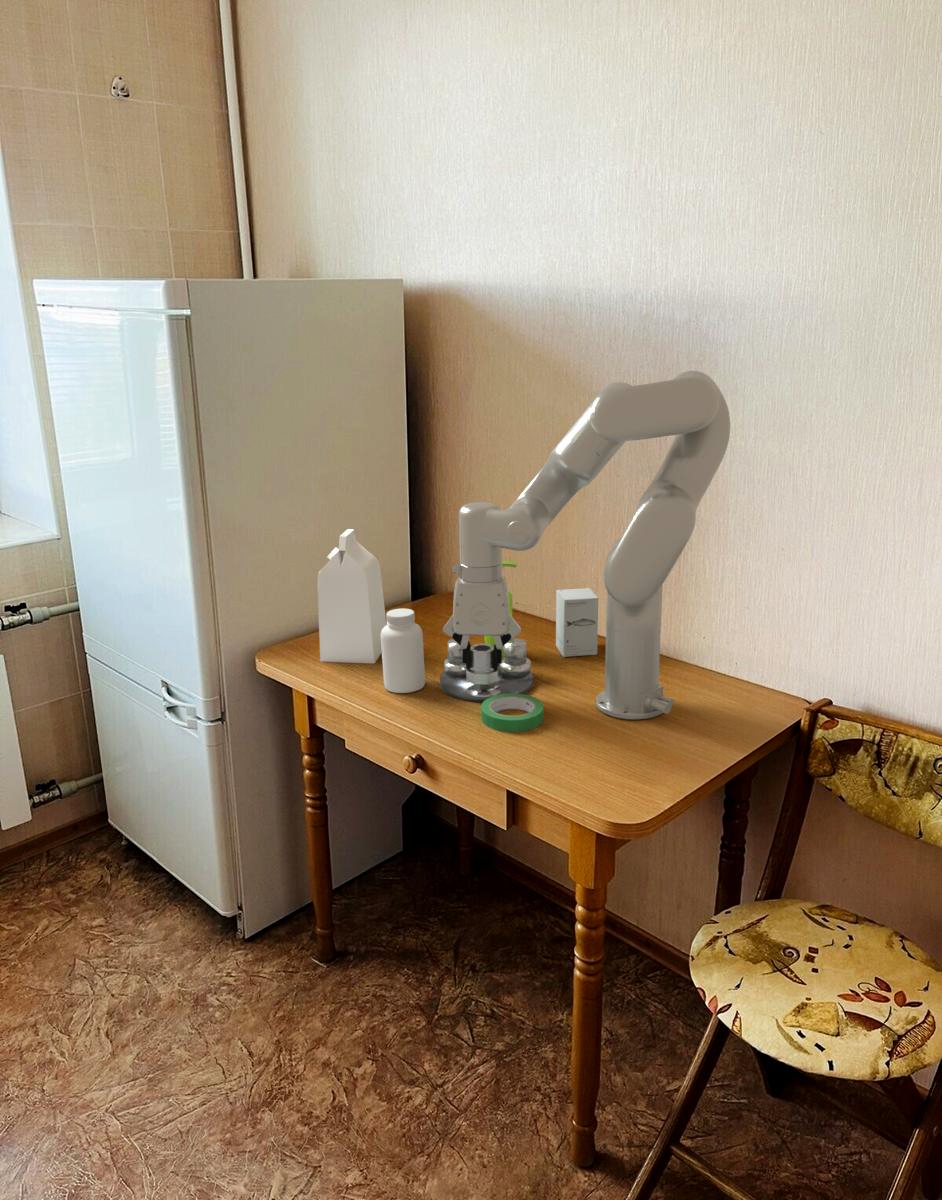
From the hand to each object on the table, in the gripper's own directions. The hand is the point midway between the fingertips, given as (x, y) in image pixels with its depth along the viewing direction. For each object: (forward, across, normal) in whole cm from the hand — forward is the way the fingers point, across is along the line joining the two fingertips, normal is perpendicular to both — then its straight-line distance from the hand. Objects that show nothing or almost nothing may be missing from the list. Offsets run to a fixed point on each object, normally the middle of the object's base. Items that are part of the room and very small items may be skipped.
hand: (482, 665), depth 176 cm
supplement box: (+6, +18, +24) cm, 31 cm away
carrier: (+6, 0, +6) cm, 9 cm away
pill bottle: (+7, -16, +4) cm, 17 cm away
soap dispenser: (+6, +2, +21) cm, 22 cm away
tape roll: (+7, +6, -9) cm, 13 cm away
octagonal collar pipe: (+3, 0, 0) cm, 3 cm away
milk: (+7, -29, +23) cm, 37 cm away
